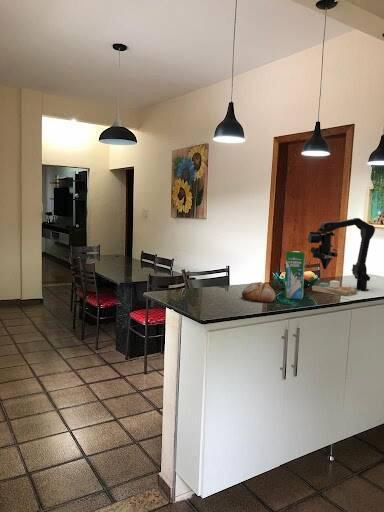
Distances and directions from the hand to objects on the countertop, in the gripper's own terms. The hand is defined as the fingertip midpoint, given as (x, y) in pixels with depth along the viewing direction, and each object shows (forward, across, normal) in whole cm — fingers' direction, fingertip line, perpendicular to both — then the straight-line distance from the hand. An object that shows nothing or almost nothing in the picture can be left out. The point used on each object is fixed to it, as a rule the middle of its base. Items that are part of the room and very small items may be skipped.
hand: (324, 269), depth 245 cm
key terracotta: (+12, +3, +15) cm, 19 cm away
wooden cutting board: (+12, +2, +8) cm, 15 cm away
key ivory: (+9, +2, +8) cm, 13 cm away
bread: (+13, +55, -6) cm, 56 cm away
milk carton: (+12, +35, +3) cm, 38 cm away
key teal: (+12, +2, +1) cm, 12 cm away
